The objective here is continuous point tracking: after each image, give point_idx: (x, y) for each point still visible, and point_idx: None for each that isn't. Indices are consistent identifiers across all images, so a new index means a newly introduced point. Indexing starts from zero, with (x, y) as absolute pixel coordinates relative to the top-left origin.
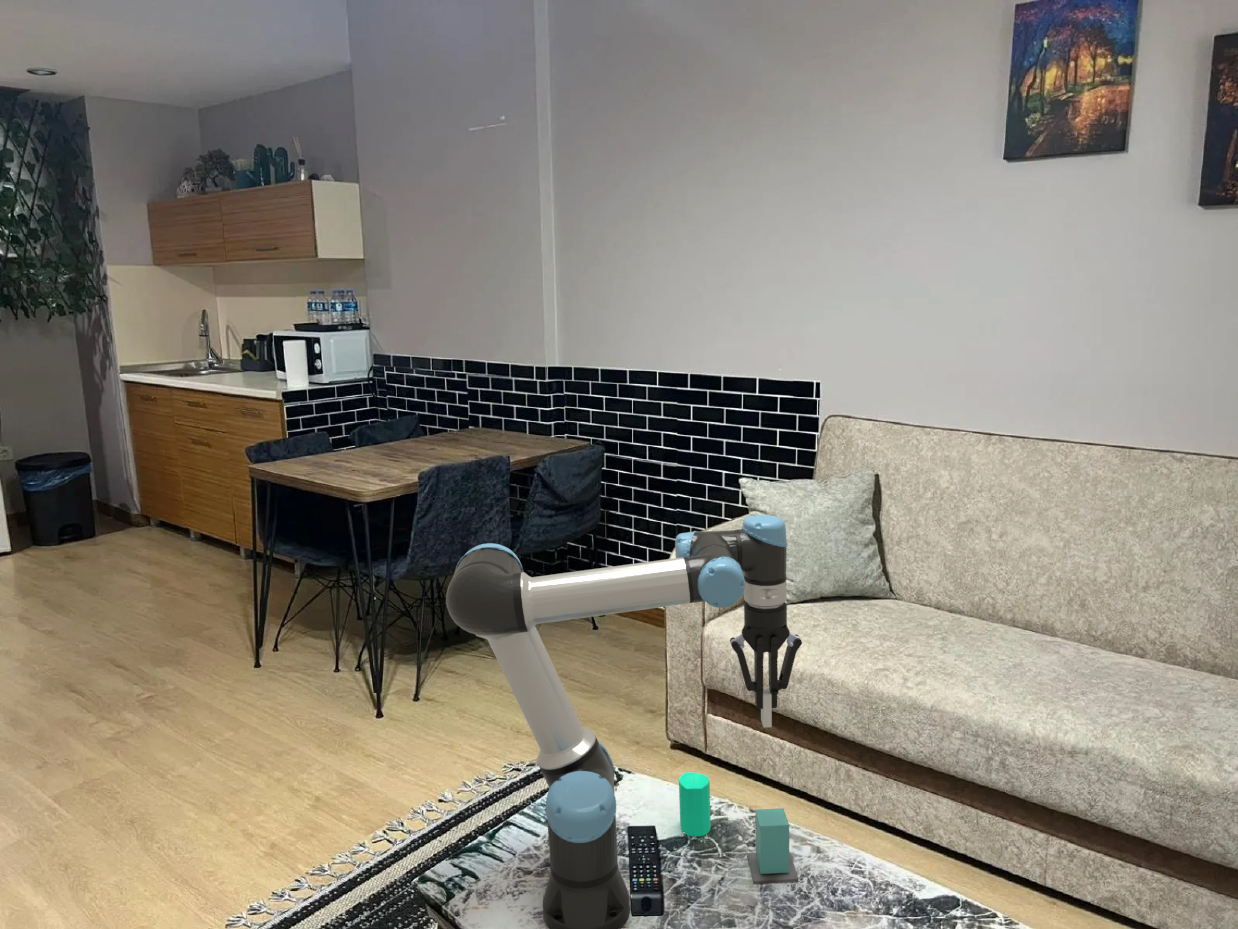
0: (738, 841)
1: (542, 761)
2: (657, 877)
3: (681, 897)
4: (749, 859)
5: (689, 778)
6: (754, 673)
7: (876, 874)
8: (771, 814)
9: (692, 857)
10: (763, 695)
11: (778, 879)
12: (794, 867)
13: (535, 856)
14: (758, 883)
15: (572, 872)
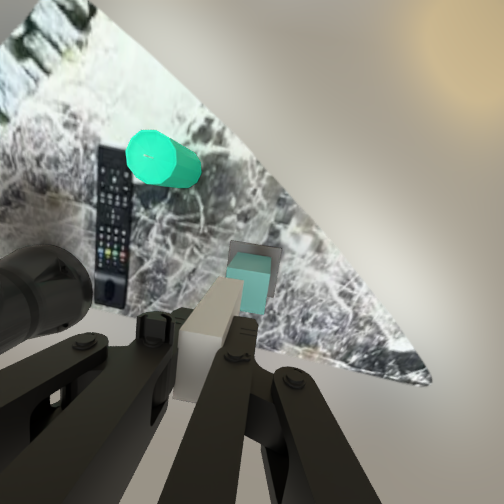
0: (229, 209)
1: None
2: (124, 252)
3: (145, 289)
4: (229, 252)
5: (146, 144)
6: (84, 390)
7: (364, 304)
8: (247, 284)
9: (168, 227)
10: (175, 395)
11: None
12: (276, 278)
13: None
14: None
15: None
